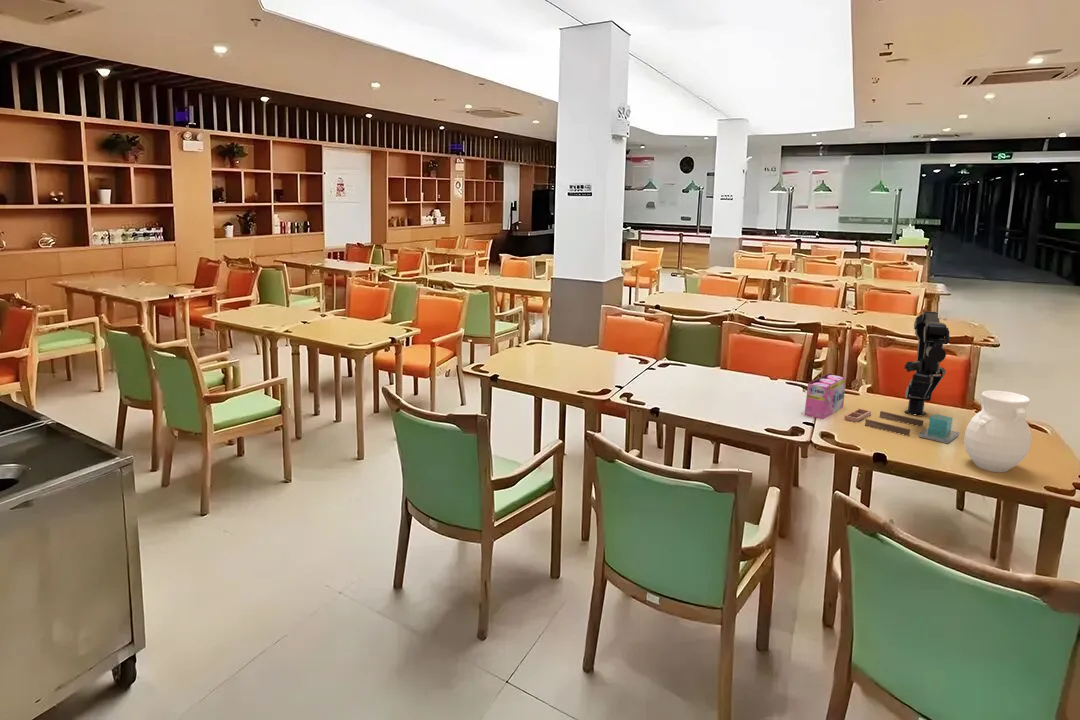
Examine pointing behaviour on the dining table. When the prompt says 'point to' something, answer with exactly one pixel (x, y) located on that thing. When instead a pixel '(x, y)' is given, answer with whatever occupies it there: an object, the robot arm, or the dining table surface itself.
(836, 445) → the dining table surface
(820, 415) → the gum box
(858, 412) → the tray
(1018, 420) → the white vase
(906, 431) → the walnut channel
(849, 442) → the dining table surface
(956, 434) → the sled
